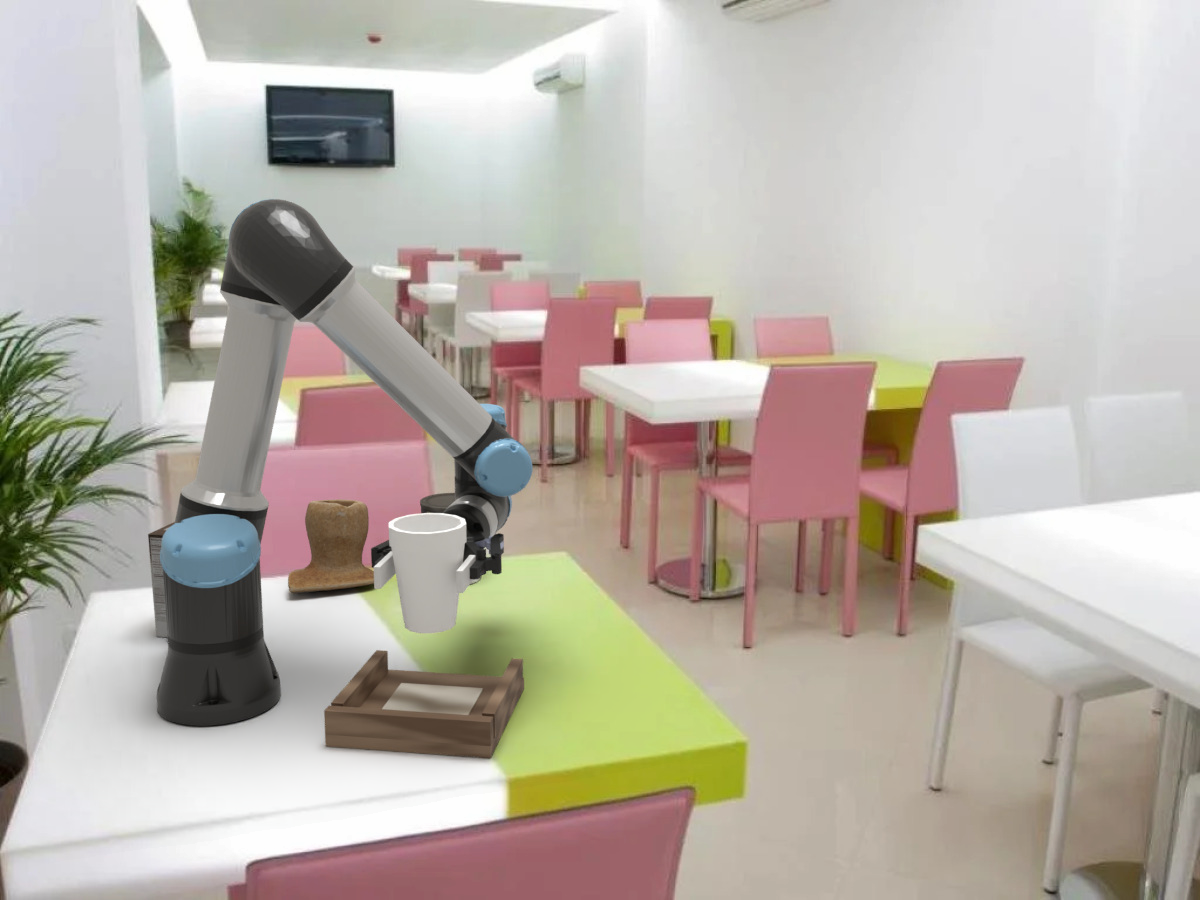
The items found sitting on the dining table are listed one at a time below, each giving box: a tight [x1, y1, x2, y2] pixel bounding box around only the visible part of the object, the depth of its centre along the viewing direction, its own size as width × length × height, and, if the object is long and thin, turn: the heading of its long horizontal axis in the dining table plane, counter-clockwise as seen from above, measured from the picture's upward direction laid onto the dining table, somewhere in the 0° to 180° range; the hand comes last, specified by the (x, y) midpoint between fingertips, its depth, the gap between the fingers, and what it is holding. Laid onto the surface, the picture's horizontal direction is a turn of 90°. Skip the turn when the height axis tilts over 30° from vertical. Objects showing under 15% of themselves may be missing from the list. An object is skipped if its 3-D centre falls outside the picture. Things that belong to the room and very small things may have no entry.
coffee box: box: [147, 521, 175, 638], centre depth 170 cm, size 9×6×16 cm
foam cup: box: [388, 512, 467, 634], centre depth 138 cm, size 10×9×13 cm
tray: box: [323, 649, 525, 759], centre depth 142 cm, size 20×20×4 cm
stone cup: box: [287, 499, 374, 594], centre depth 190 cm, size 15×12×15 cm
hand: (418, 579), depth 134 cm, fingers closed on foam cup, 9 cm apart
